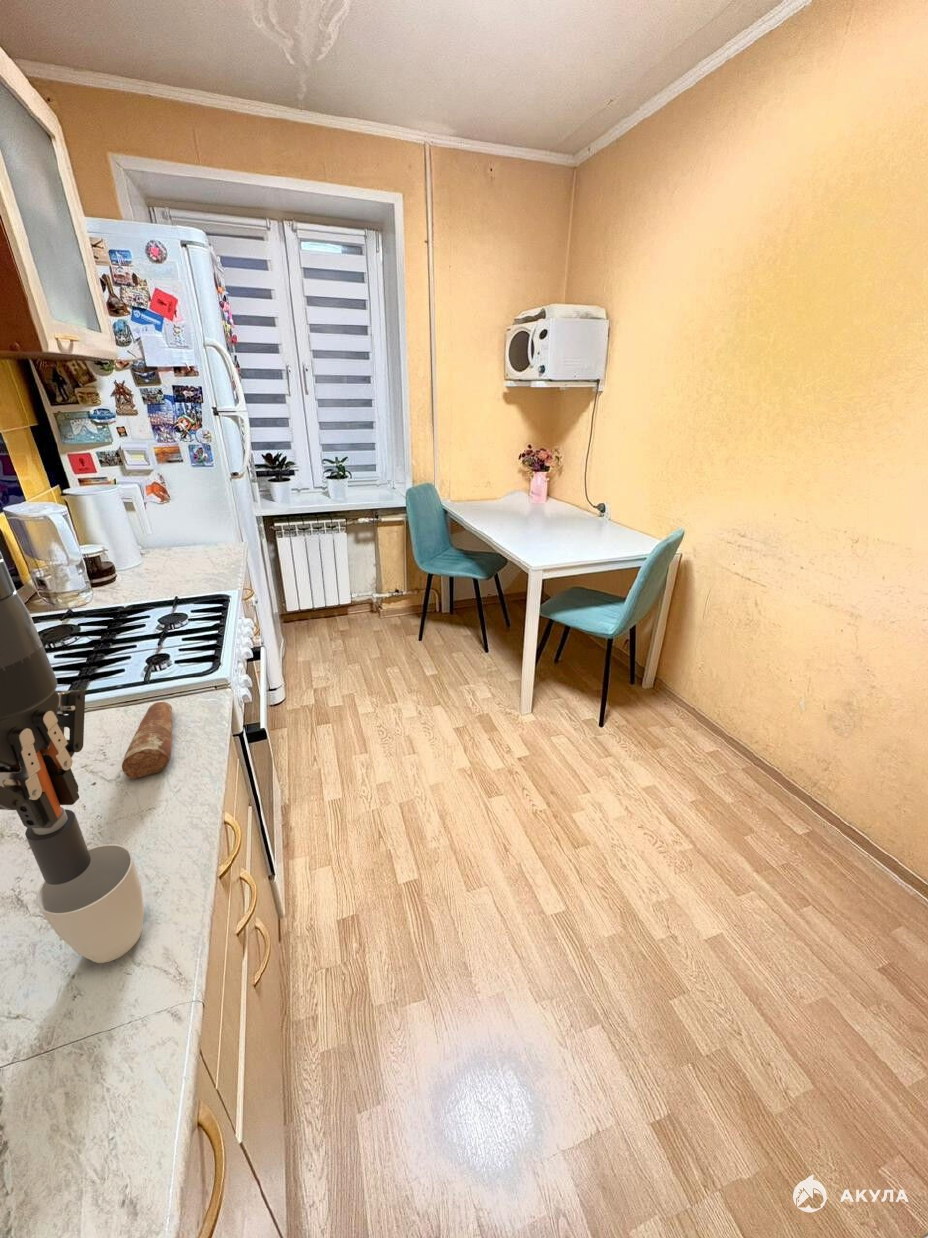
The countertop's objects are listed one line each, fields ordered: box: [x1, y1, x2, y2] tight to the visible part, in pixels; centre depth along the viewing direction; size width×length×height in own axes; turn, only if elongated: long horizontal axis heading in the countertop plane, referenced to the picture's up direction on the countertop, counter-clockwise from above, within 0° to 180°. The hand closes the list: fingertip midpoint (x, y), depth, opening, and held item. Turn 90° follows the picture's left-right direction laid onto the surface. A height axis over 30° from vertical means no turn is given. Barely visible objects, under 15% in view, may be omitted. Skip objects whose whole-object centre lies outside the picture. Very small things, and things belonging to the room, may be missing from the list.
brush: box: [17, 750, 91, 885], centre depth 46 cm, size 4×4×18 cm
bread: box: [121, 701, 173, 779], centre depth 84 cm, size 6×19×6 cm, turn 21°
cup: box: [35, 843, 145, 964], centre depth 53 cm, size 8×8×10 cm
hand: (55, 813), depth 47 cm, fingers closed on brush, 2 cm apart
